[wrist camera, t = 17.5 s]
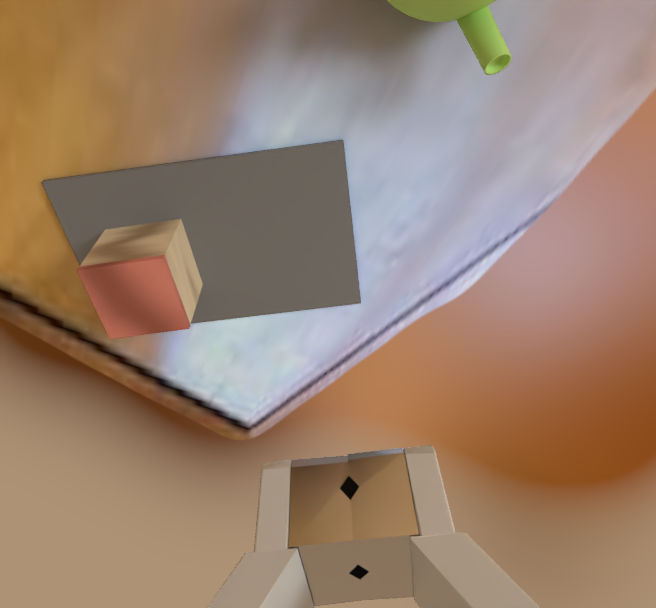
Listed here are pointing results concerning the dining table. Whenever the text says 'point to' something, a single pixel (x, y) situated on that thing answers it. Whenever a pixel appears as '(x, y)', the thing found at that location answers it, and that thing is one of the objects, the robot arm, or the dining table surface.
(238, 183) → the mat
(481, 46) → the teapot
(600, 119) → the dining table surface
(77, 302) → the dining table surface
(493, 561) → the robot arm
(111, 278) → the cube
